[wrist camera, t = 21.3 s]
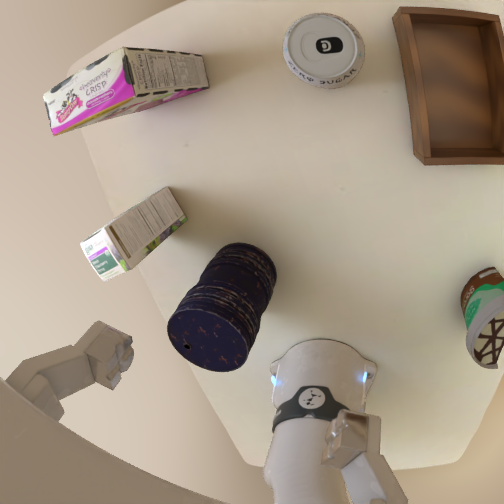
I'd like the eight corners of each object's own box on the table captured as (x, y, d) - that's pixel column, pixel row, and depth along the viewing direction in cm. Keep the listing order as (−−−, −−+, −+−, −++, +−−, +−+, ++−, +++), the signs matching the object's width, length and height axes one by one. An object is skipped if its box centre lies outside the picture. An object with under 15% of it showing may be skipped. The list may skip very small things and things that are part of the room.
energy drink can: (298, 43, 30) (270, 14, 17) (350, 37, 28) (356, 3, 16) (308, 91, 33) (287, 92, 20) (360, 86, 31) (373, 83, 18)
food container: (459, 260, 37) (481, 304, 28) (496, 257, 35) (523, 299, 26) (447, 328, 42) (459, 376, 34) (480, 325, 40) (496, 371, 32)
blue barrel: (257, 232, 43) (219, 298, 31) (289, 290, 46) (265, 367, 34) (200, 254, 48) (150, 317, 35) (232, 306, 51) (196, 376, 38)
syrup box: (161, 233, 48) (104, 285, 35) (140, 200, 46) (77, 245, 34) (188, 219, 45) (132, 272, 33) (167, 183, 43) (102, 227, 31)
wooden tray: (496, 153, 29) (516, 164, 24) (413, 154, 33) (424, 165, 28) (480, 22, 22) (499, 15, 17) (391, 17, 26) (399, 6, 21)
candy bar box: (140, 113, 39) (51, 139, 25) (131, 81, 37) (40, 94, 23) (213, 89, 35) (135, 98, 22) (203, 53, 33) (121, 43, 19)
